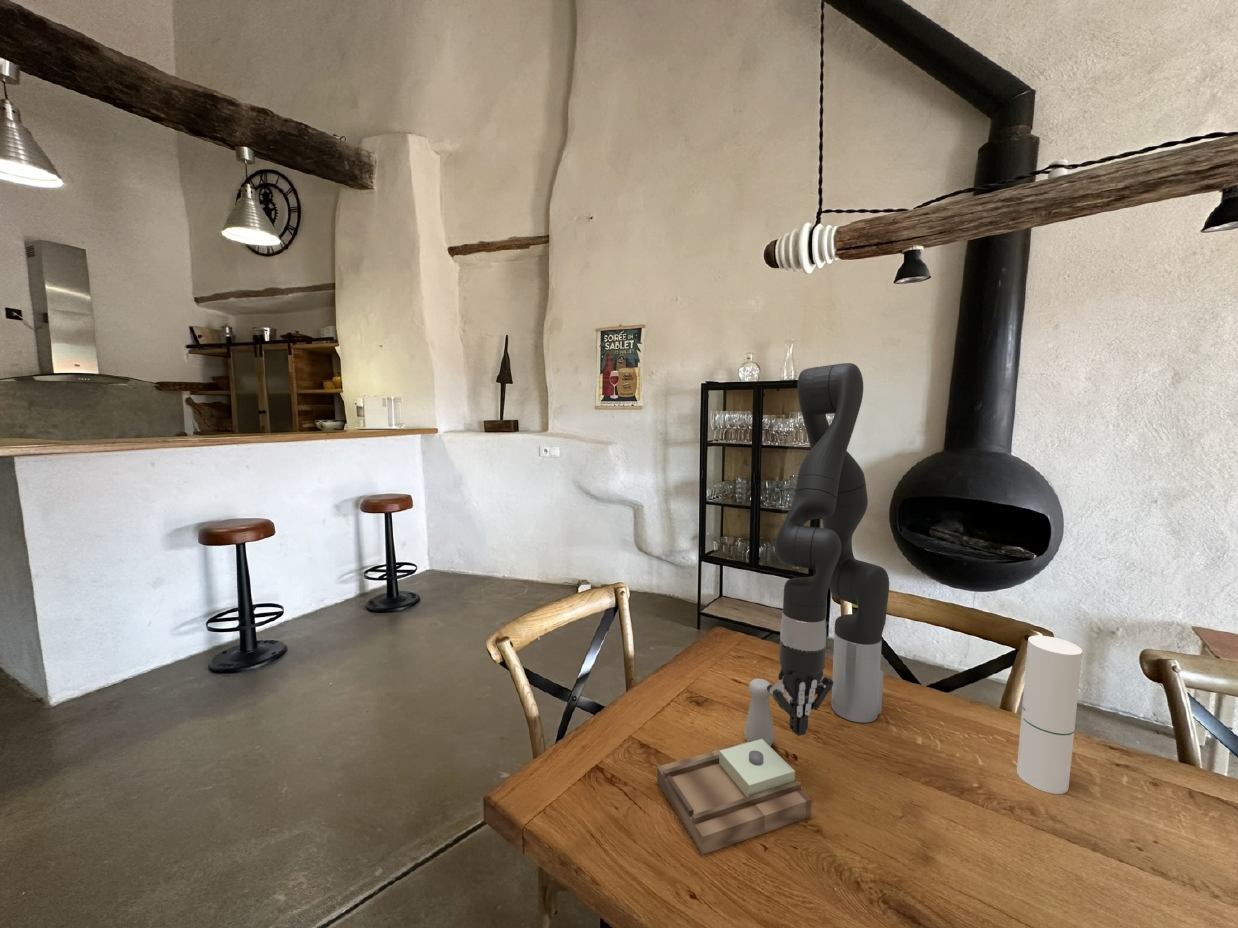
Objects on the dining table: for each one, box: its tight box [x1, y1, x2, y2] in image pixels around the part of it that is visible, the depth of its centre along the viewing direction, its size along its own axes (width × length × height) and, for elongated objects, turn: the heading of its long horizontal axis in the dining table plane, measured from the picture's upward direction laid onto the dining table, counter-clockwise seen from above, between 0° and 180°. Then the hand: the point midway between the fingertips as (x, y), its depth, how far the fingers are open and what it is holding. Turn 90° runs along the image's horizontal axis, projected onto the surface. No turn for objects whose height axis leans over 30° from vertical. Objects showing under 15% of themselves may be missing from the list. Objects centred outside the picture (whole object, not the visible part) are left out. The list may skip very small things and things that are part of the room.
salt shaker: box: [743, 678, 776, 748], centre depth 101 cm, size 6×6×13 cm
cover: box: [719, 739, 796, 797], centre depth 89 cm, size 9×9×4 cm
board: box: [656, 740, 812, 856], centre depth 88 cm, size 20×16×4 cm
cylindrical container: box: [1016, 635, 1083, 795], centre depth 91 cm, size 7×7×25 cm
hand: (798, 732), depth 92 cm, fingers closed
